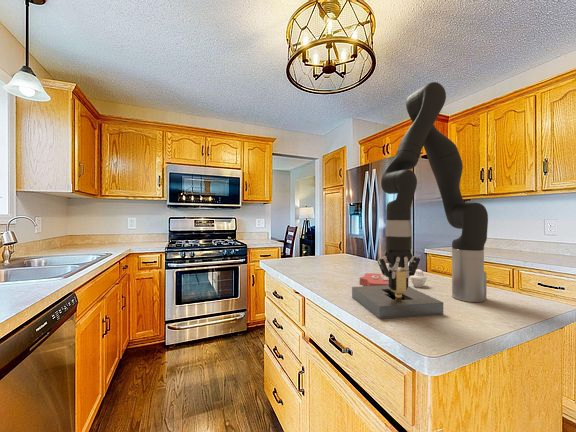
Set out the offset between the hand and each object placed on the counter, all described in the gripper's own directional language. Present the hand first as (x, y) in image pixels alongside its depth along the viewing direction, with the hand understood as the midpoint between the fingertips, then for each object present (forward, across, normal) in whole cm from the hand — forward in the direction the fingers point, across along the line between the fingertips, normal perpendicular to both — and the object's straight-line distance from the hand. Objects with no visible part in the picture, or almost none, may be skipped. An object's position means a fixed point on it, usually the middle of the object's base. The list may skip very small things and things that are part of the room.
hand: (398, 289), depth 84 cm
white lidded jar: (+6, -22, -22) cm, 32 cm away
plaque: (+7, -7, -26) cm, 28 cm away
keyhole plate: (+6, 0, -3) cm, 7 cm away
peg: (+6, 0, 0) cm, 6 cm away
